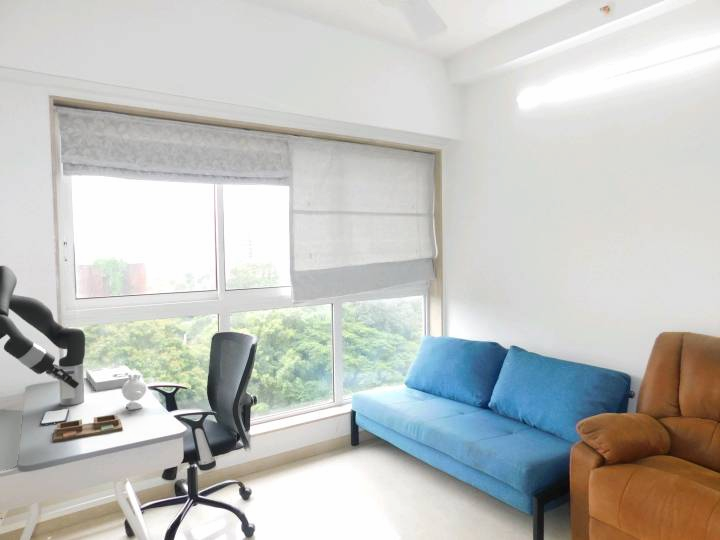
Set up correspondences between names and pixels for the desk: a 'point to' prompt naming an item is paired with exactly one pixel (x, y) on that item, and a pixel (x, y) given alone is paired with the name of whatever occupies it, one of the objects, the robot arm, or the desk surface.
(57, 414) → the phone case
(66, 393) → the grey-capped white pillar
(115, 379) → the power supply unit
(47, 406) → the desk surface
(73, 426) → the panel
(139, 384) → the toy robot
